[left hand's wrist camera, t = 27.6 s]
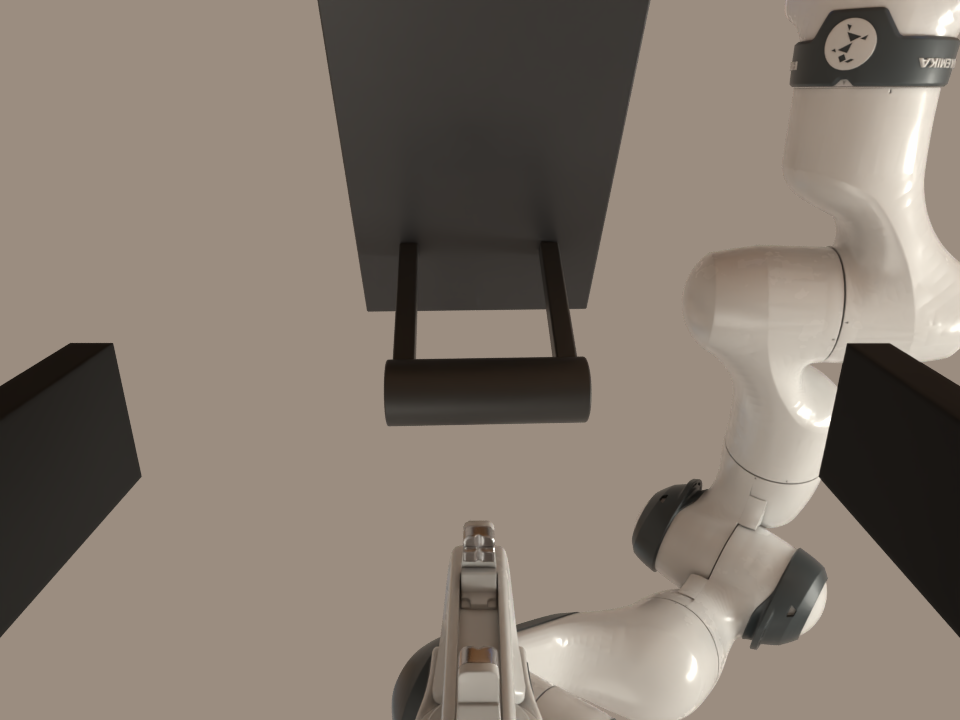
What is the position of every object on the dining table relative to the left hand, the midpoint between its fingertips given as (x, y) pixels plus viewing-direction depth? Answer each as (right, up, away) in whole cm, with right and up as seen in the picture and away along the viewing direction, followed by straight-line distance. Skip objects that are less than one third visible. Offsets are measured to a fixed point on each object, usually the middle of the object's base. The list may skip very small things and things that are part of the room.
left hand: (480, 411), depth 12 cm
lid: (0, +9, +11) cm, 14 cm away
